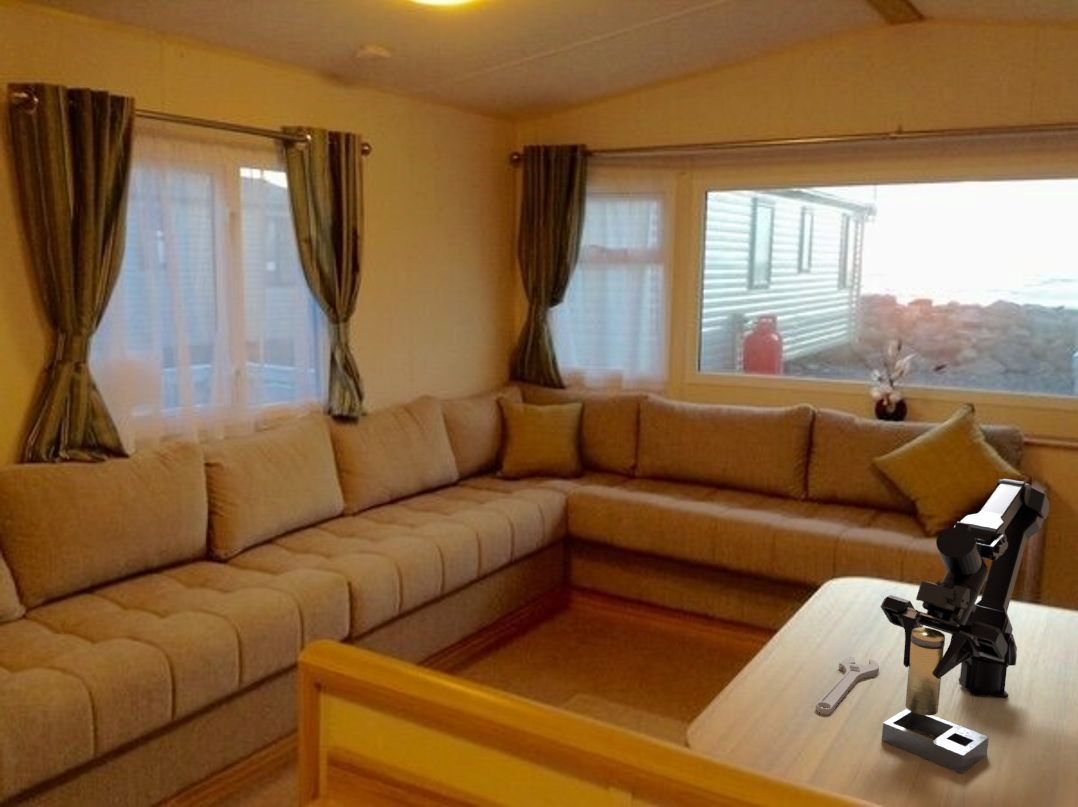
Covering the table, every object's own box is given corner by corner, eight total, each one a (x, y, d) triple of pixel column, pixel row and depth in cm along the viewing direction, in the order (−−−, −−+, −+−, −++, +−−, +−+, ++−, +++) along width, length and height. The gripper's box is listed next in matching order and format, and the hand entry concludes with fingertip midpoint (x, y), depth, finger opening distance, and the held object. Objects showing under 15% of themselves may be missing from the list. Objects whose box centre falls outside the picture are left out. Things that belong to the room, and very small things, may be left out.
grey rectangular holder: (986, 755, 144) (988, 737, 143) (961, 774, 138) (963, 755, 138) (908, 723, 153) (910, 706, 153) (881, 740, 148) (883, 722, 147)
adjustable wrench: (828, 719, 155) (829, 709, 155) (792, 707, 159) (793, 697, 159) (882, 671, 174) (883, 662, 174) (849, 661, 178) (850, 652, 178)
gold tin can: (926, 699, 150) (933, 626, 148) (944, 714, 145) (951, 639, 143) (898, 701, 149) (905, 628, 147) (916, 716, 144) (923, 640, 142)
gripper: (890, 547, 153) (850, 627, 147) (1006, 578, 139) (966, 667, 133) (910, 583, 159) (872, 660, 154) (1023, 615, 145) (985, 702, 140)
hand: (920, 671), depth 145 cm, fingers closed on gold tin can, 5 cm apart
